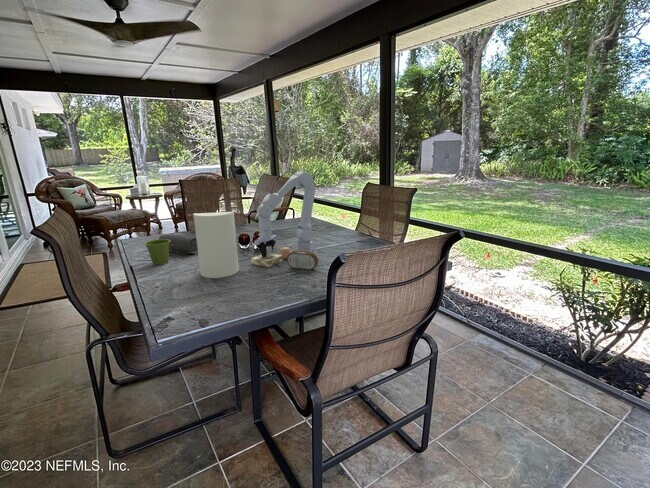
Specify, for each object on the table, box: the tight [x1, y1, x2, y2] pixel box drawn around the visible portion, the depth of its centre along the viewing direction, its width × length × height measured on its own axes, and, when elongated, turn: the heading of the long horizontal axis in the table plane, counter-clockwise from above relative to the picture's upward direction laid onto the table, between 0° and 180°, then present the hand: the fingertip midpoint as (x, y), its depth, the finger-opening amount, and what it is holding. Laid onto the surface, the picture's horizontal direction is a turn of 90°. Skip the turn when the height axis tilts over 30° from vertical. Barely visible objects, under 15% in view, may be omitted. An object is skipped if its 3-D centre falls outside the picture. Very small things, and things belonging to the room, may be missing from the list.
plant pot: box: [144, 238, 170, 265], centre depth 170 cm, size 12×12×11 cm
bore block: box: [250, 253, 284, 268], centre depth 169 cm, size 11×11×3 cm
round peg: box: [280, 246, 291, 260], centre depth 176 cm, size 5×5×5 cm
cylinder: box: [192, 211, 240, 279], centre depth 154 cm, size 17×17×28 cm
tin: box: [286, 250, 319, 271], centre depth 158 cm, size 15×3×8 cm, turn 71°
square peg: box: [260, 245, 273, 259], centre depth 168 cm, size 4×4×7 cm
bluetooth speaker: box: [158, 234, 198, 254], centre depth 188 cm, size 23×9×10 cm, turn 68°
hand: (267, 255), depth 168 cm, fingers closed on square peg, 4 cm apart
